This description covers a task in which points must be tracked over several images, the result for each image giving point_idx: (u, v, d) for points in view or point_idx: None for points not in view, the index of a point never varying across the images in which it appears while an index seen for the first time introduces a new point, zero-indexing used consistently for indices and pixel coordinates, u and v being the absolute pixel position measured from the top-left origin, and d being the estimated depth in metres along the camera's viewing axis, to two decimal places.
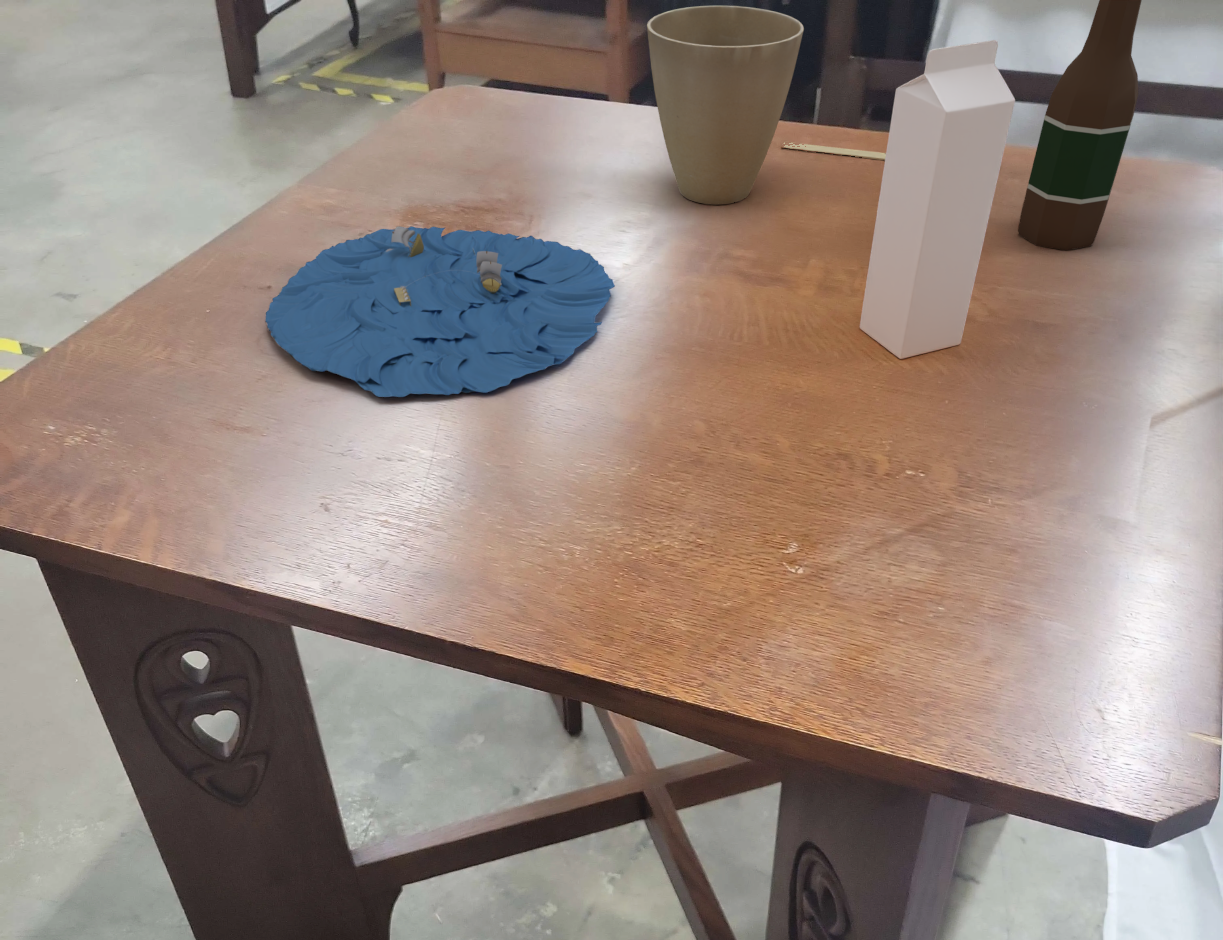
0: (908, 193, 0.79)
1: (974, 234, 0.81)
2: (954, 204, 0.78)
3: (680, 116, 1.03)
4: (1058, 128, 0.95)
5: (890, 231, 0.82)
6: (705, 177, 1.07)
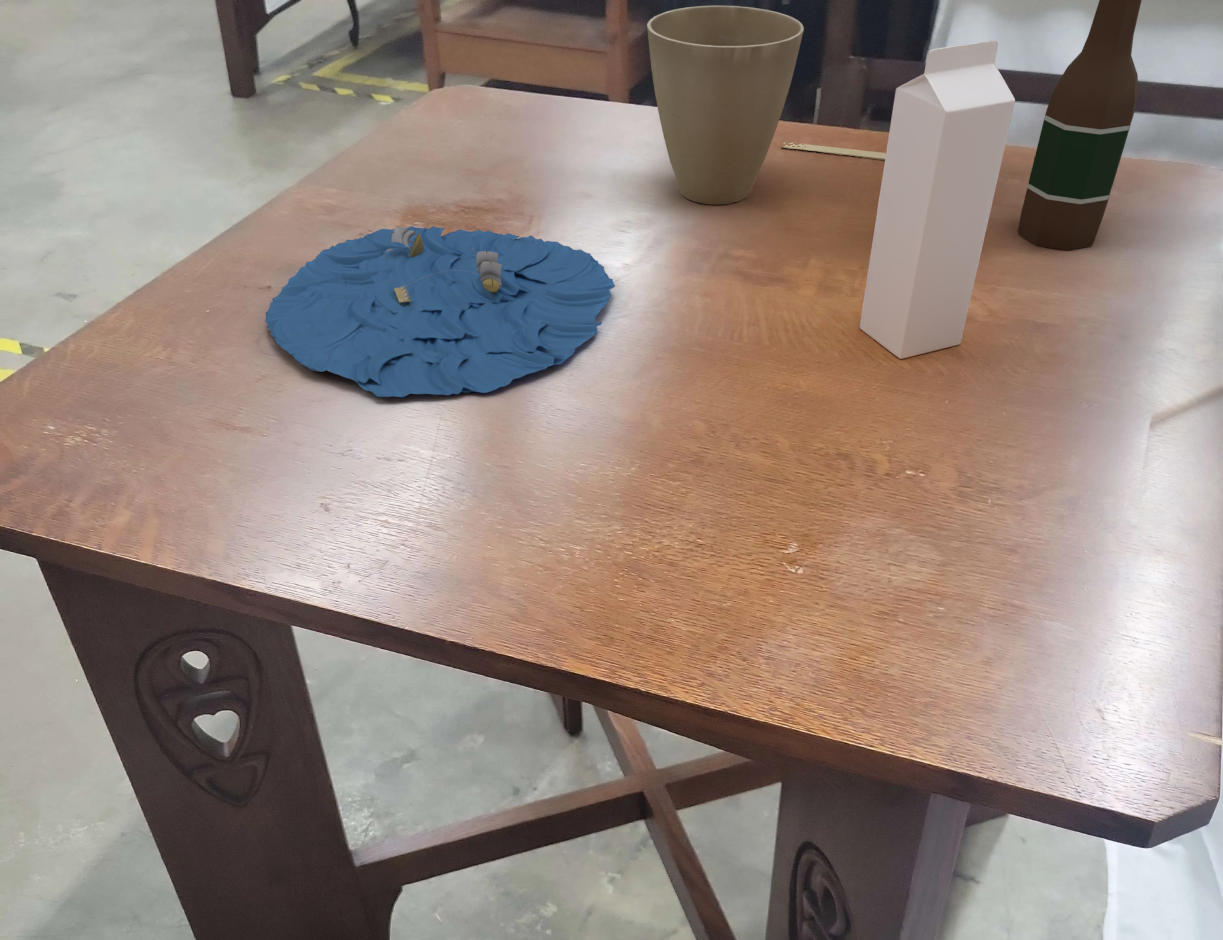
0: (908, 193, 0.79)
1: (974, 234, 0.81)
2: (954, 204, 0.78)
3: (680, 116, 1.03)
4: (1058, 128, 0.95)
5: (890, 231, 0.82)
6: (705, 177, 1.07)
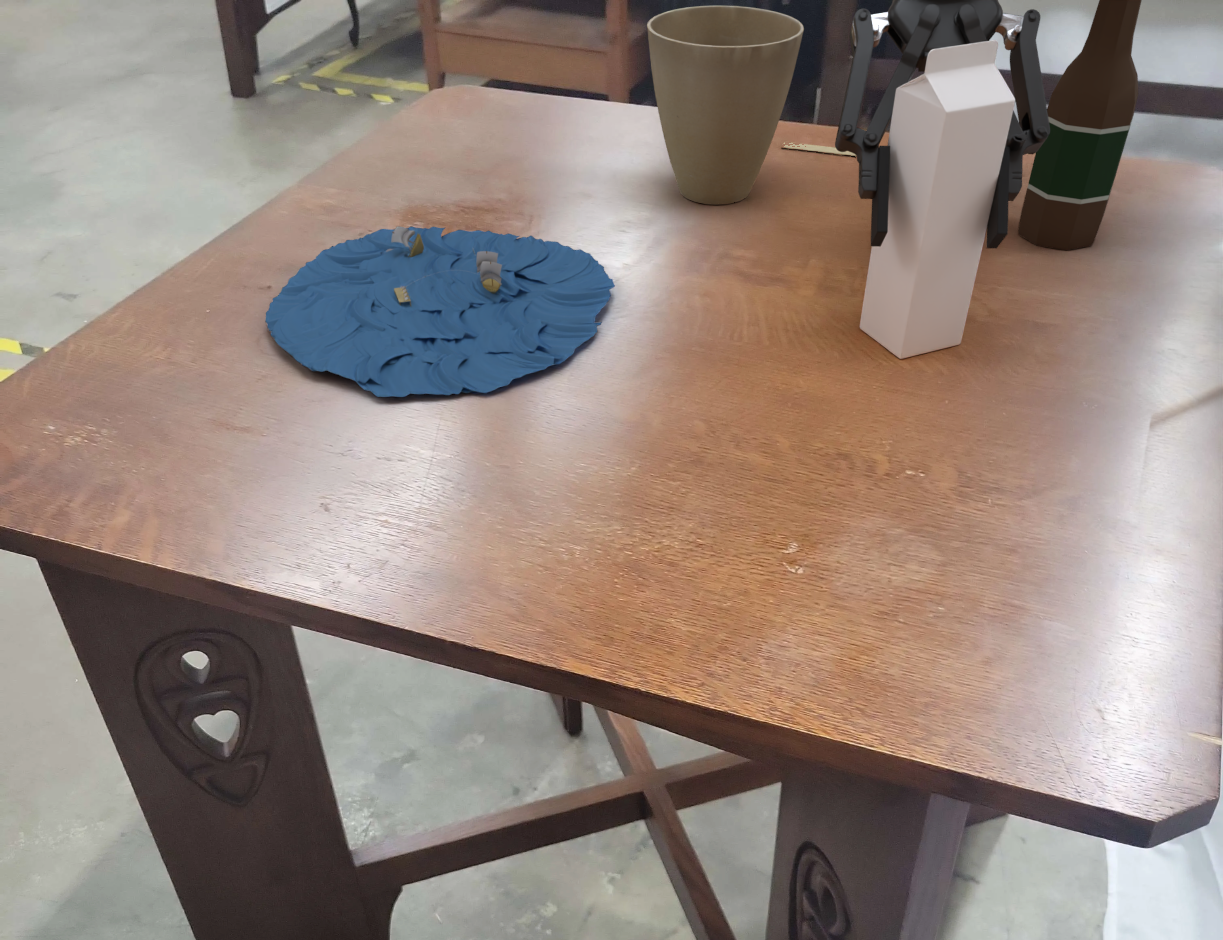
0: (908, 193, 0.79)
1: (974, 234, 0.81)
2: (955, 204, 0.78)
3: (680, 116, 1.03)
4: (1058, 128, 0.95)
5: (891, 231, 0.82)
6: (705, 177, 1.07)
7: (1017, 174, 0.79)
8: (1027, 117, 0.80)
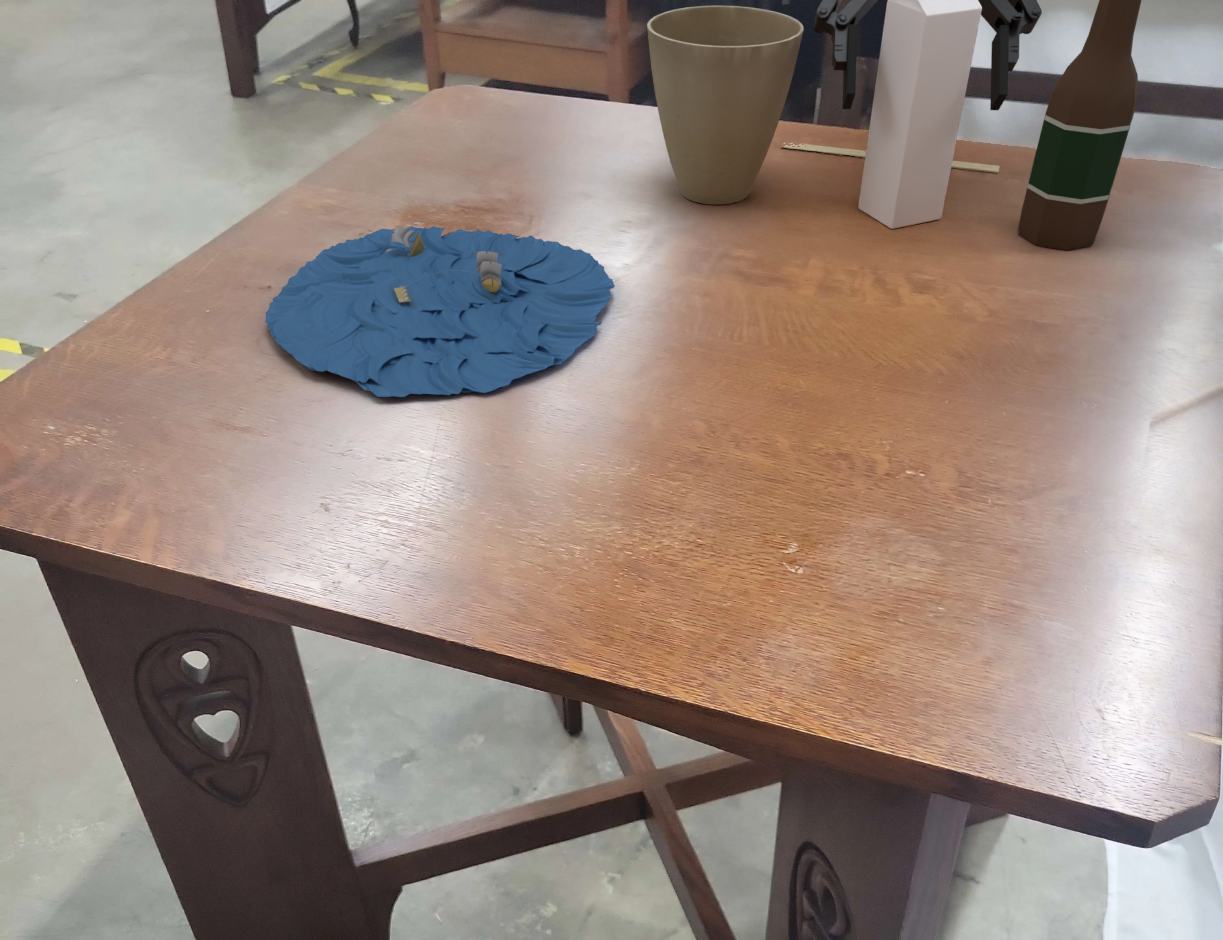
0: (897, 86, 0.98)
1: (951, 121, 1.00)
2: (934, 94, 0.97)
3: (680, 116, 1.03)
4: (1058, 128, 0.95)
5: (883, 121, 1.01)
6: (705, 177, 1.07)
7: (1015, 47, 0.97)
8: (1017, 5, 0.99)
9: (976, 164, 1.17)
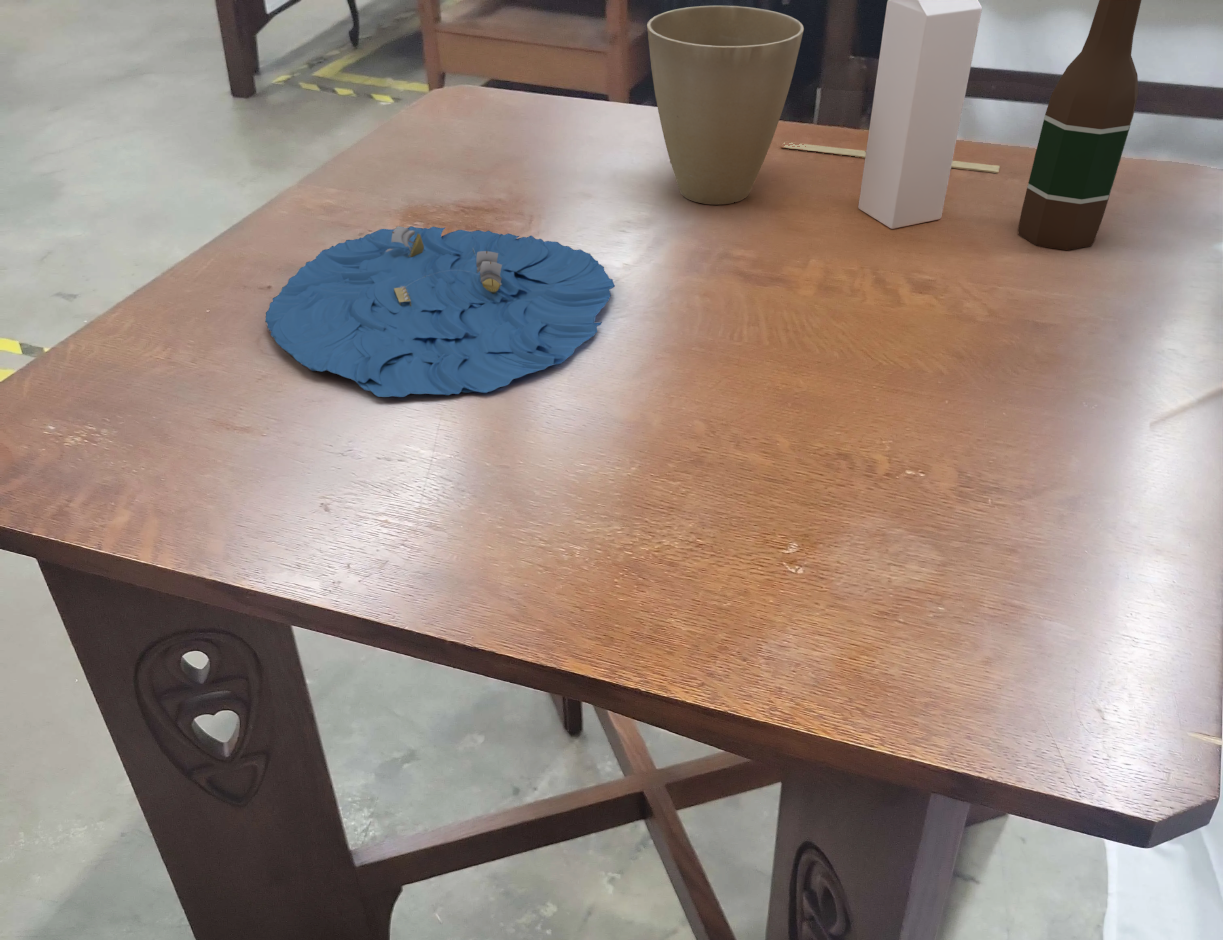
0: (897, 86, 0.98)
1: (951, 121, 1.00)
2: (934, 94, 0.97)
3: (680, 116, 1.03)
4: (1058, 128, 0.95)
5: (883, 121, 1.01)
6: (705, 177, 1.07)
7: None
8: None
9: (976, 164, 1.17)
